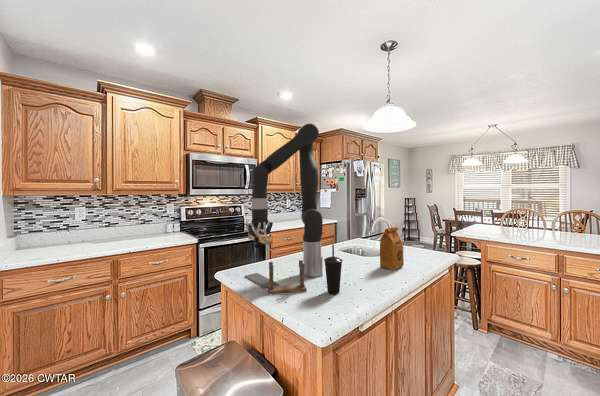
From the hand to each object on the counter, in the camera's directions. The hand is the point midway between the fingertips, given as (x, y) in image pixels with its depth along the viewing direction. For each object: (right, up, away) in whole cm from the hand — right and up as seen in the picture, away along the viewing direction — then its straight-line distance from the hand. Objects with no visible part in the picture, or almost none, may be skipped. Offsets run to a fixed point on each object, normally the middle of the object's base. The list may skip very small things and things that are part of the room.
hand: (260, 244), depth 120 cm
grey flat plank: (0, -17, 0) cm, 17 cm away
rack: (+13, -18, -13) cm, 26 cm away
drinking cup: (+33, -18, -15) cm, 40 cm away
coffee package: (+69, -16, +18) cm, 73 cm away
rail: (0, +1, 0) cm, 1 cm away
